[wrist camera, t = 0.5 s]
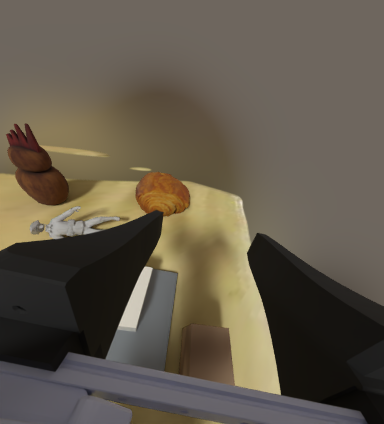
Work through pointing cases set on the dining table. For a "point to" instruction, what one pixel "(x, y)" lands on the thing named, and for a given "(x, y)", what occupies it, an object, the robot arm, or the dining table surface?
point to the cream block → (136, 302)
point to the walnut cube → (206, 354)
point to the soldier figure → (69, 225)
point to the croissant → (162, 194)
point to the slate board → (148, 326)
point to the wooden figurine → (35, 169)
